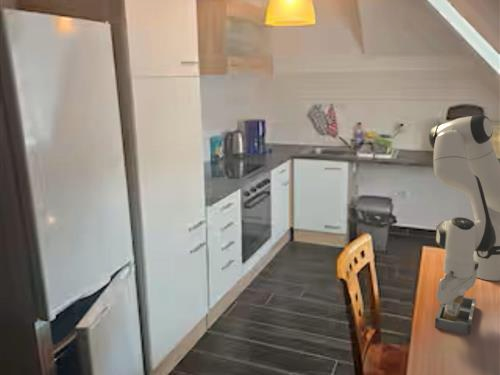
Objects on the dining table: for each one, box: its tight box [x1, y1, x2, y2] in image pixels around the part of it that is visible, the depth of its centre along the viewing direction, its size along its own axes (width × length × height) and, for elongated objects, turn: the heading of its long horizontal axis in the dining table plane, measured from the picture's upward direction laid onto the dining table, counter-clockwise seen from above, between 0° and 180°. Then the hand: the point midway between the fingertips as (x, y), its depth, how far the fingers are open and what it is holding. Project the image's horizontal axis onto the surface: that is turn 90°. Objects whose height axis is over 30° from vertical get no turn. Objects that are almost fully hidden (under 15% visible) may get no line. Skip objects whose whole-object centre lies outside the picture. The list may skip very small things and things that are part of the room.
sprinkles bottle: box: [442, 287, 467, 322], centre depth 157 cm, size 5×5×13 cm
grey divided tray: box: [434, 296, 477, 336], centre depth 162 cm, size 20×10×4 cm, turn 150°
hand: (454, 306), depth 157 cm, fingers closed on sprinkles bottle, 4 cm apart
